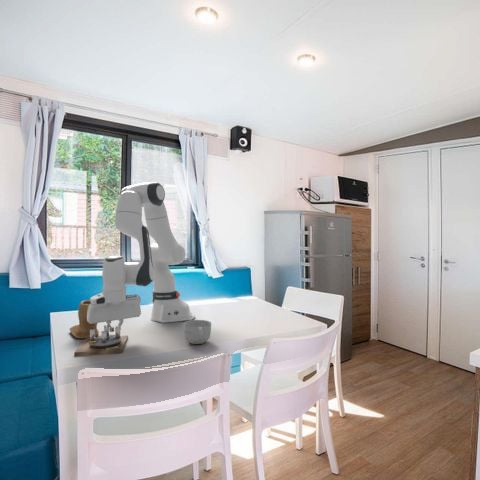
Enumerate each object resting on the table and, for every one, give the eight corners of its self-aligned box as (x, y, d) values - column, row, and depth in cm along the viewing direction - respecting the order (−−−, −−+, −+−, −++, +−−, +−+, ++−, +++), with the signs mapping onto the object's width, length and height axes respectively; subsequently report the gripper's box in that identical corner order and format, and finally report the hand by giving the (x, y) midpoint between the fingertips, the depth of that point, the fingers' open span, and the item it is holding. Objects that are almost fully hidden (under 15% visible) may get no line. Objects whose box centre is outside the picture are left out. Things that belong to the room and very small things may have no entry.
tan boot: (106, 337, 139) (105, 301, 139) (75, 342, 132) (74, 305, 132) (97, 329, 152) (97, 296, 151) (69, 333, 145) (68, 299, 145)
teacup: (185, 338, 137) (185, 319, 137) (211, 337, 138) (211, 318, 138) (182, 349, 123) (182, 328, 123) (211, 348, 124) (211, 327, 124)
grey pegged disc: (121, 337, 132) (121, 323, 132) (119, 346, 122) (119, 331, 122) (91, 340, 129) (91, 326, 129) (86, 349, 118) (86, 334, 118)
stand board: (127, 339, 136) (127, 334, 136) (121, 353, 120) (121, 348, 119) (86, 341, 133) (86, 337, 133) (74, 356, 116) (74, 351, 116)
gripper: (138, 292, 140) (138, 324, 140) (85, 298, 128) (86, 333, 129) (142, 294, 135) (143, 328, 135) (88, 301, 123) (89, 337, 123)
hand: (115, 330), depth 132 cm, fingers closed
